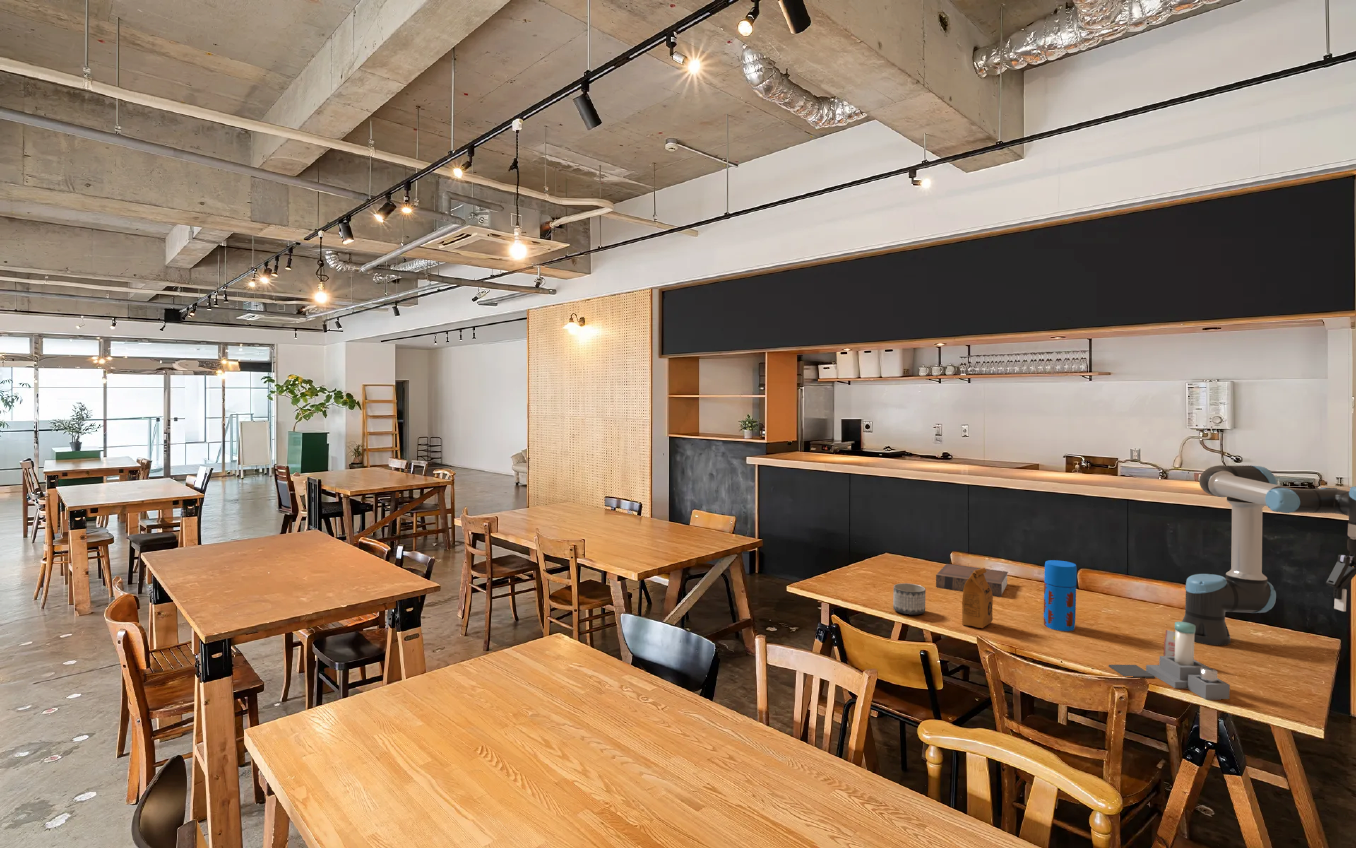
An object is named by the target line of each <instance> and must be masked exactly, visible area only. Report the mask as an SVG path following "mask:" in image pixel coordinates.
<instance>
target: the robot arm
mask: <svg viewBox="0 0 1356 848" xmlns="http://www.w3.org/2000/svg"><path fill="white" fill-rule="evenodd" d="M1198 482H1199V486H1200V488H1201V489H1202V491H1203V492H1204V493H1206V494H1207V495H1210V496H1212V497H1213V496H1214V497H1217V498H1226V502H1227V503H1228V504H1229V505H1230V506H1231V549H1230V550H1231V558H1230V559H1231V561H1230V562H1231V563H1230V564H1231V567H1230V569H1229V571H1227V572H1226V573H1225V577H1224V576H1222V575H1219V574H1215V573H1214V574H1213V573H1212V574H1210V573H1196V574H1192V575H1190V576H1188V577H1187V578H1186V580H1185V581H1186V582H1185V587H1184V588H1185V607H1184V617H1183V618H1182V621H1181V622H1187V623H1191V624H1194V625H1195V626H1196V628H1195V634H1194V643H1200V644H1203V645H1204V644H1205V645H1212V646H1228V645H1230V644H1231V635H1230V632H1229V629H1228V626H1227V622H1226V612H1227V613H1250V614H1257V613H1259V614H1261V613H1267V612H1269V611H1270V610H1272V609H1273V608H1274V606H1275V604H1276V599H1277V592H1276V590H1275V588H1274V585H1272V583H1271V582H1269V581H1268V577H1267V576H1266V575H1265V574H1263V572H1262V571H1263V508H1264V507H1268V508H1269V509H1270V511H1272V512H1275V513H1283V514H1291V513H1296V514H1297V513H1299V514H1300V513H1303V514H1304V513H1305V514H1307V513H1308V514H1336V515H1343V516H1347V517H1348V520H1347V521H1348V523H1347V536H1348V538H1347V546H1346V549H1347V551H1349V554H1348V555H1345V554H1341V553H1339V554H1338V555H1337V561H1336V563H1335V565H1334V567H1333V569H1332V571H1331V573H1330V574H1329V576H1328V578H1327V580H1326V582H1325V584H1326V585H1327V586H1330V587H1332V589H1333V591H1332V597H1333V599H1334V606H1333V609H1334V610H1338V611H1341V612H1347V593H1348V592H1347V591H1348V590H1347V589H1346V588H1345V587H1346V586H1348V584H1349V583H1350V582H1351V581H1352V580H1353V578H1355V577H1356V486H1351V487H1350V488H1349V490H1346V489H1345V490H1344V489H1338V488H1336V487H1320V488H1294V487H1288V486H1284V485H1279V484H1278V482H1277V479H1276V477H1275V475H1274V473H1273V472H1272V471H1271V470H1270V469H1268V468H1266V467H1265V466H1261V465H1252V464H1251V465H1249V464H1248V465H1225V464H1223V465H1222V464H1220V465H1214V466H1210V467H1208V468H1206V469H1205V470H1204V471H1202V472H1201V474H1200V476H1199V480H1198Z"/></svg>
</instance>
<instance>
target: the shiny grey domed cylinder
mask: <svg viewBox="0 0 1356 848" xmlns="http://www.w3.org/2000/svg"><path fill="white" fill-rule="evenodd" d="M1217 678H1218V670H1217V669H1216V668H1211V667H1209V668H1207V667H1201V669H1200V679H1201V680H1202V681H1204V682H1206V683H1217Z"/></svg>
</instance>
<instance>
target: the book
mask: <svg viewBox="0 0 1356 848" xmlns="http://www.w3.org/2000/svg"><path fill="white" fill-rule="evenodd" d="M978 569H981V567H972V566H965V565H960V564H959V565H958V564H951V563H946V564H945V565H944V566H943V567H942V568H940V570H939V571H938V572H936V574H935V580H936V581H935V588H936V587H937V589H943V590H944V589H945V590H951V591H956V592H957V591H958V592H963V590H964V585H965V583H966V581H967V580H968V579H969V577H970V576H971V575H972V573H973V572H974V571H975V570H978ZM985 569H986V571H987V572H986V573H984V576H985V579H986V582H987V583H988V585H989V586H990V588H991V591H992V595H993V597H999V598H1002V595H1003V593H1004V591H1005V589H1006V588H1007V585H1008V573H1009V571H1005V570H997V569H989V568H985Z"/></svg>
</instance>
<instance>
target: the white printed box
mask: <svg viewBox="0 0 1356 848" xmlns="http://www.w3.org/2000/svg"><path fill="white" fill-rule="evenodd" d="M1163 656H1175V631H1172V630H1167V629H1166V630H1165V634H1164V641H1163Z"/></svg>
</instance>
